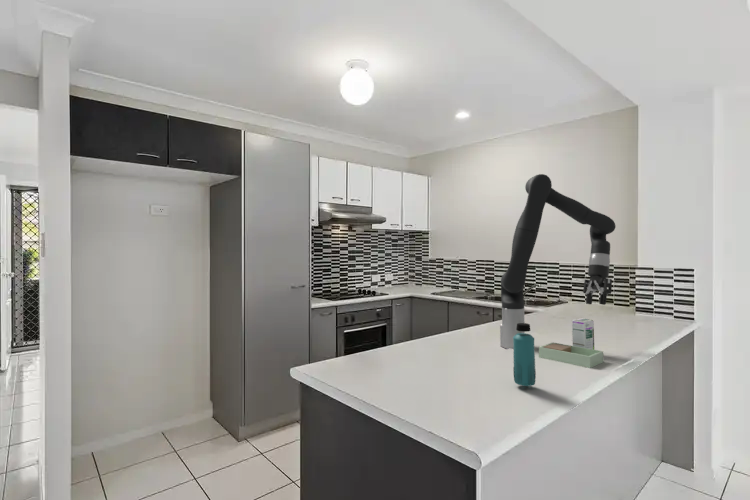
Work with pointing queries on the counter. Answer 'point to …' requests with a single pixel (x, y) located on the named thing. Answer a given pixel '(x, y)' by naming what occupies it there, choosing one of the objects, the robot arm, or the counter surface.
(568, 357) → the tray
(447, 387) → the counter surface
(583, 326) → the syrup box
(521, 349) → the beverage bottle
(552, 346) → the coffee brick
